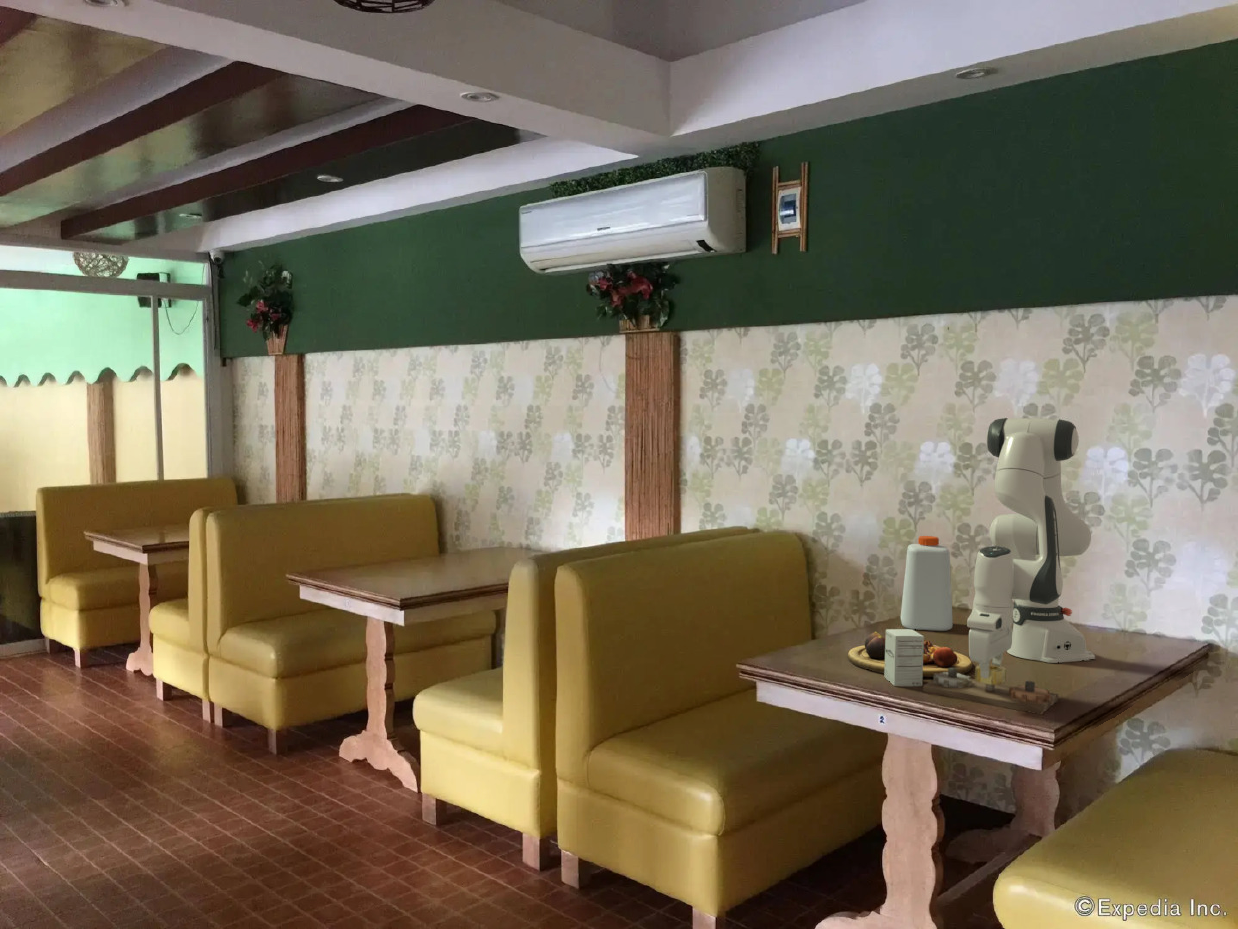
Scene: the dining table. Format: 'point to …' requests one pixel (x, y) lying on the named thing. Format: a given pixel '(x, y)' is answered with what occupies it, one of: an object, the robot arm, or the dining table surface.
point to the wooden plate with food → (933, 657)
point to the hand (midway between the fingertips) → (990, 674)
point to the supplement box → (904, 657)
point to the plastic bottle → (927, 586)
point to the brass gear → (992, 675)
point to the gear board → (991, 692)
